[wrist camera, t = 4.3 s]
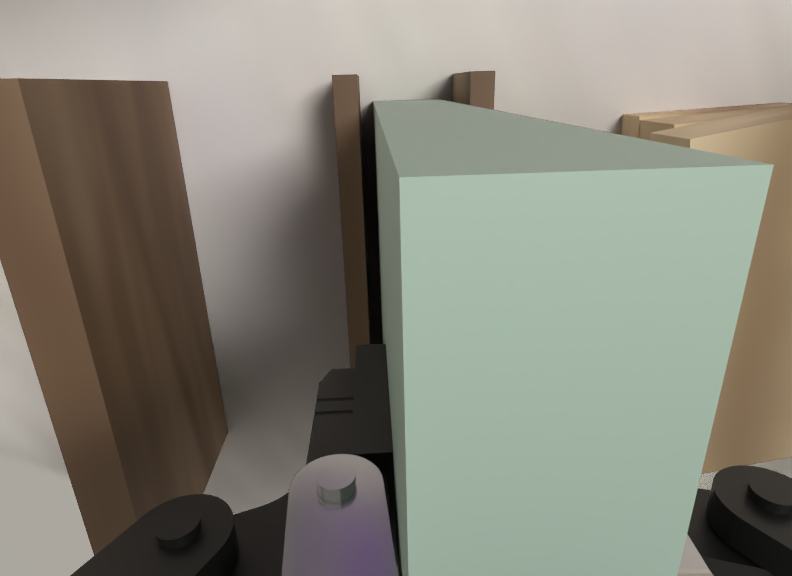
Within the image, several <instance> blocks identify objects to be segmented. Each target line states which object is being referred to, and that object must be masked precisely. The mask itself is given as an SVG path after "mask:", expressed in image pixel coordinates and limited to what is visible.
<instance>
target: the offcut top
mask: <svg viewBox="0 0 792 576" xmlns="http://www.w3.org/2000/svg"><path fill="white" fill-rule="evenodd" d="M650 141H655V142H661V143H666V144H671V145H676V146H681V147H686V148H691V149H696V150H702V151H707V152H712V153H717V154H722V155H727V156H732V157H737V158H743V159H748V160H753V161H758V162H763V163H768V164H773V165H774V166H773V171H772V175H771V179H770V183H769V188H768V192H767V196H766V200H765V205H764V209H763V213H762V217H761V222H760V226H759V230H758V234H757V239H756V243H755V247H754V251H753V256H752V260H751V264H750V268H749V273H748V277H747V281H746V285H745V290H744V294H743V298H742V302H741V307H740V311H739V315H738V319H737V324H736V328H735V332H734V336H733V341H732V345H731V349H730V354H729V358H728V362H727V366H726V371H725V375H724V379H723V383H722V388H721V392H720V396H719V400H718V405H717V409H716V413H715V417H714V422H713V426H712V430H711V434H710V439H709V443H708V447H707V451H706V456H705V460H704V464H703V468H702V473H701V474H704V473H709V472H715V471H720V470H722V469H724V468H727V467H730V466H738V465H742V466H746V465H751V464H756V463H761V462H766V461H772V460H777V459H782V458H787V457H792V104H790V105H785V106H780V107H775V108H770V109H765V110H760V111H755V112H750V113H745V114H741V115H736V116H731V117H726V118H721V119H716V120H711V121H706V122H701V123H696V124H691V125H686V126H681V127H677V128H672V129H667V130H662V131H657V132H652V133H650Z"/></svg>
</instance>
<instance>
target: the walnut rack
mask: <svg viewBox="0 0 792 576" xmlns="http://www.w3.org/2000/svg"><path fill="white" fill-rule="evenodd" d="M332 84H333V99H334V115H335V130H336V146H337V161H338V177H339V192H340V208H341V223H342V239H343V254H344V270H345V285H346V301H347V316H348V332H349V347H350V363H351V368H355V356H356V345H369V344H371V325H370V304H369V283H368V261H367V240H366V219H365V198H364V177H363V156H362V134H361V113H360V92H359V76H358V75H332ZM494 89H495V71H473V72H464V73H457V74H453V75H452V102H456V103H461V104H466V105H471V106H476V107H481V108H486V109H491V110H494ZM0 260H1V263H2V266H3V269H4V272H5V276H6V279H7V282H8V285H9V288H10V291H11V294H12V298H13V301H14V304H15V307H16V310H17V313H18V316H19V320H20V323H21V326H22V329H23V332H24V335H25V339H26V342H27V345H28V348H29V351H30V354H31V357H32V361H33V364H34V367H35V370H36V373H37V376H38V380H39V383H40V386H41V389H42V392H43V395H44V398H45V402H46V405H47V408H48V411H49V414H50V417H51V421H52V424H53V427H54V430H55V433H56V436H57V439H58V443H59V446H60V449H61V452H62V455H63V458H64V462H65V465H66V468H67V471H68V474H69V477H70V480H71V484H72V487H73V490H74V493H75V496H76V499H77V502H78V506H79V509H80V512H81V515H82V518H83V521H84V525H85V527H86V531H87V534H88V537H89V540H90V544H91V547H92V550H93V553H94V556H95V555H96V554H97V553H98V552H100V551H101V550H102V549H103V548H105V547H106V546H107V545H108V544H109V543H111V542H112V541H113V540H114V539H115V538H117V537H118V536H119V535H120V534H121V533H123V532H124V531H125V530H126V529H128V528H129V527H130V526H131V525H132V524H134V523H135V522H136V521H137V520H138V519H140V518H141V517H142V516H143V515H145V514H146V513H147V512H149V511H150V510H151V509H153V508H155V507H156V506H158V505H160V504H162V503H164V502H166V501H169V500H171V499H174V498H177V497H181V496H185V495H193V494H203V493H204V490H205V488H206V485H207V483H208V480H209V478H210V475H211V473H212V470H213V468H214V466H215V463H216V461H217V458H218V456H219V453H220V451H221V448H222V446H223V443H224V441H225V438H226V436H227V433H228V431H227V425H226V420H225V414H224V408H223V402H222V396H221V390H220V385H219V379H218V373H217V367H216V361H215V356H214V350H213V344H212V338H211V332H210V326H209V321H208V315H207V309H206V303H205V297H204V292H203V286H202V280H201V274H200V268H199V262H198V257H197V251H196V245H195V239H194V233H193V228H192V222H191V216H190V210H189V204H188V198H187V193H186V187H185V181H184V175H183V169H182V164H181V158H180V152H179V146H178V140H177V134H176V129H175V123H174V117H173V111H172V105H171V100H170V94H169V88H168V82H167V81H118V80H69V79H20V78H15V79H0Z"/></svg>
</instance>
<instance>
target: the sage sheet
mask: <svg viewBox="0 0 792 576" xmlns="http://www.w3.org/2000/svg"><path fill="white" fill-rule="evenodd" d="M373 115H374V140H375V166H376V191H377V217H378V242H379V268H380V293H381V319H382V344H386V356H387V370H388V384H389V398H390V412H391V427H392V441H393V458H394V488H395V518H396V547H397V574H398V576H677V575H678V571H679V566H680V562H681V558H682V553H683V549H684V545H685V541H686V536H687V532H688V528H689V524H690V519H691V515H692V511H693V507H694V502H695V498H696V494H697V490H698V485H699V481H700V477H701V473H702V468H703V464H704V460H705V456H706V451H707V447H708V443H709V439H710V434H711V430H712V426H713V422H714V417H715V413H716V409H717V405H718V400H719V396H720V392H721V388H722V383H723V379H724V375H725V371H726V366H727V362H728V358H729V354H730V349H731V345H732V341H733V336H734V332H735V328H736V324H737V319H738V315H739V311H740V307H741V302H742V298H743V294H744V290H745V285H746V281H747V277H748V273H749V268H750V264H751V260H752V256H753V251H754V247H755V243H756V239H757V234H758V230H759V226H760V222H761V217H762V213H763V209H764V205H765V200H766V196H767V192H768V188H769V183H770V179H771V175H772V171H773V166H774V165H773V164H768V163H763V162H758V161H753V160H748V159H743V158H737V157H732V156H727V155H722V154H717V153H712V152H707V151H702V150H696V149H691V148H686V147H681V146H676V145H671V144H666V143H661V142H655V141H650V140H645V139H640V138H635V137H630V136H625V135H620V134H614V133H609V132H604V131H599V130H594V129H589V128H584V127H579V126H573V125H568V124H563V123H558V122H553V121H548V120H543V119H538V118H532V117H527V116H522V115H517V114H512V113H507V112H502V111H497V110H491V109H486V108H481V107H476V106H471V105H466V104H461V103H456V102H450V101H445V100H440V99H429V100H394V101H373Z"/></svg>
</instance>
